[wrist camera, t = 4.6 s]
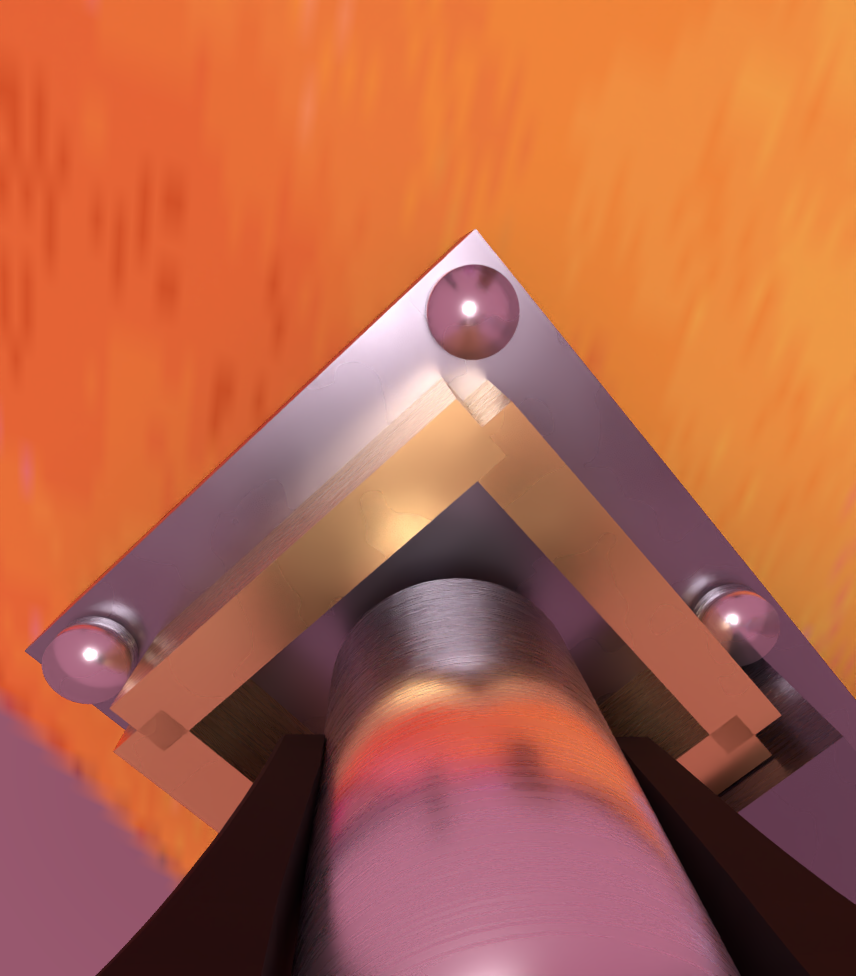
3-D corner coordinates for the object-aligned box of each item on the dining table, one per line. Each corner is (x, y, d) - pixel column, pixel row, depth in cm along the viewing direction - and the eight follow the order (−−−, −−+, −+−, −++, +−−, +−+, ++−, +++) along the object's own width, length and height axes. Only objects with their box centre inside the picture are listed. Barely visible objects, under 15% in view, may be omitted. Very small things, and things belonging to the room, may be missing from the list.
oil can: (616, 705, 13) (1039, 1442, 5) (428, 831, 13) (500, 1696, 5) (480, 529, 12) (718, 1086, 3) (280, 674, 12) (61, 1462, 4)
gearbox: (856, 719, 18) (1031, 878, 13) (510, 969, 20) (552, 1190, 15) (462, 236, 14) (505, 210, 9) (69, 605, 15) (-72, 748, 11)
